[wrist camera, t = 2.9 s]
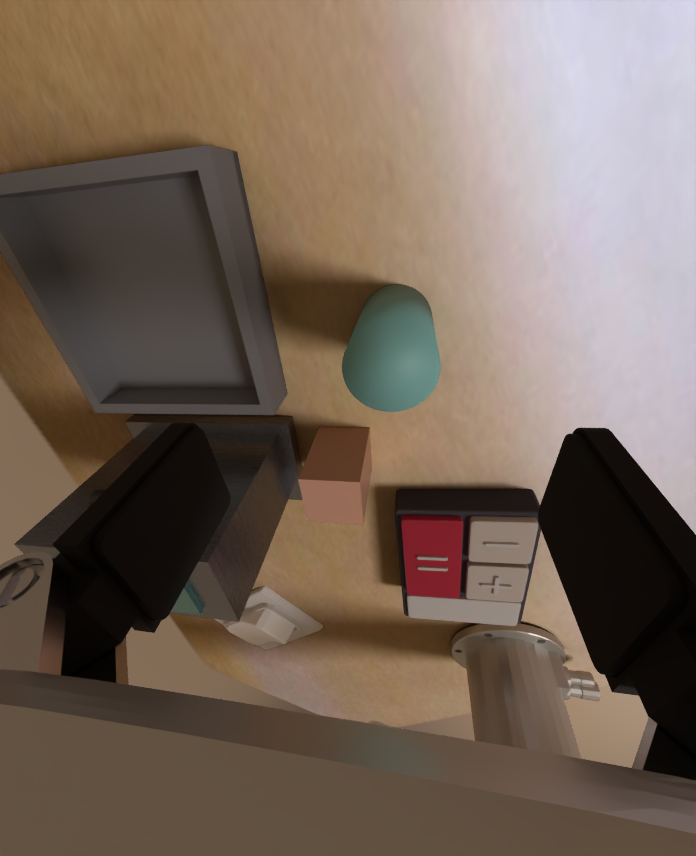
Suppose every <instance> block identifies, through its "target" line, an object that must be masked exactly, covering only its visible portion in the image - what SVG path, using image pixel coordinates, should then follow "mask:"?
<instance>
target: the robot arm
mask: <svg viewBox="0 0 696 856" xmlns="http://www.w3.org/2000/svg"><path fill="white" fill-rule="evenodd" d="M230 500H231V497H230V493H229V491H228V488H227V486H226V483H225V481H224V478H223V476H222V474H221V471H220V469H219V466H218V464H217V462H216V459H215V457H214V454H213V452H212V449H211V447H210V445H209V442H208V440H207V437H206V435H205V433H204V431H203V430H202V429H200V428H199V427H198V426H197V425H196V424H194V423H172V424H171V425H170V426H169V427H168V428H167V429H166V430H165V431H164V432H163V433H162V434H161V435H160V436H159V437H158V438H157V439H156V440H155V441H154V442H153V443H152V444H151V445H150V446H149V447H148V448H147V449H146V450H145V451H144V452H143V453H142V454H141V455H140V456H139V457H138V458H137V459H136V460H135V461H134V462H133V463H132V464H131V465H130V466H129V467H128V468H127V469H126V470H125V471H124V472H123V473H122V474H121V475H120V476H119V477H118V478H117V479H116V480H115V481H114V482H113V483H112V484H111V485H110V486H109V487H108V488H107V489H106V490H105V491H104V492H103V493H102V494H101V495H100V496H99V497H98V499H97V500H96V501H95V502H94V503H93V504H92V505H91V506H90V507H89V508H88V509H87V510H86V511H85V512H84V513H83V514H82V515H81V516H80V517H79V518H78V519H77V520H76V521H75V522H74V523H73V524H72V525H71V526H70V527H69V528H68V529H67V530H66V531H65V532H64V533H63V534H62V535H61V536H60V537H59V538H58V539H57V540H56V541H55V542H54V543H53V544H52V545H53V546H54V547H55V548H56V549H57V550H58V551H59V552H60V553H59V554H58V556H57V557H56V558H55V559H53V558H52V557H51V556H50V555H49V554H48V553H46V552H41V551H38V552H30V553H26V554H23V555H20V556H17V557H15V558H13V559H11V560H10V561H7V562H5V563H3V564H2V565H0V856H696V535H695V533H694V532H693V531H692V530H691V529H690V527H689V526H688V525H687V524H686V522H685V521H684V520H683V519H682V518H681V516H680V515H679V514H678V513H677V511H676V510H675V509H674V508H673V507H672V505H671V504H670V503H669V502H668V500H667V499H666V498H665V497H664V496H663V494H662V493H661V492H660V491H659V489H658V488H657V487H656V486H655V485H654V483H653V482H652V481H651V480H650V478H649V477H648V476H647V475H646V474H645V472H644V471H643V470H642V469H641V467H640V466H639V465H638V464H637V463H636V461H635V460H634V459H633V458H632V456H631V455H630V454H629V453H628V452H627V450H626V449H625V448H624V447H623V445H622V444H621V443H620V442H619V441H618V439H617V438H616V437H615V436H614V434H613V433H612V432H611V431H610V430H609V429H606V428H577V429H576V430H575V431H574V432H573V434H567V435H566V436H565V438H564V441H563V443H562V446H561V449H560V452H559V455H558V457H557V460H556V463H555V466H554V468H553V471H552V474H551V477H550V480H549V482H548V485H547V488H546V491H545V494H544V496H543V499H542V502H541V505H540V508H539V511H538V521H539V525H540V528H541V530H542V533H543V535H544V538H545V541H546V543H547V546H548V548H549V551H550V554H551V556H552V559H553V561H554V564H555V567H556V569H557V572H558V574H559V577H560V580H561V582H562V585H563V587H564V590H565V593H566V595H567V598H568V600H569V603H570V606H571V608H572V611H573V613H574V616H575V619H576V621H577V624H578V626H579V629H580V632H581V634H582V637H583V639H584V642H585V645H586V647H587V650H588V652H589V655H590V658H591V660H592V662H593V665H594V667H595V668H596V670H597V671H598V672H599V673H600V674H604V675H605V676H606V678H607V681H608V683H609V686H610V688H611V691H612V692H616V693H624V694H631V695H639V696H640V698H641V701H642V703H643V705H644V708H645V710H646V712H647V714H648V716H649V718H648V722H647V725H646V727H645V731H644V733H643V736H642V739H641V742H640V745H639V748H638V751H637V754H636V757H635V760H634V763H633V766H632V768H628V767H622V766H617V765H612V764H606V763H601V762H596V761H590V760H585V759H582V758H581V755H580V752H579V748H578V745H577V742H576V739H575V735H574V732H573V729H572V725H571V722H570V719H569V715H568V712H567V709H566V706H565V702H564V699H565V700H568V699H569V697H570V696H574V697H579V698H581V699H586V700H593V701H600V697H601V696H600V691H599V687H598V685H597V683H596V682H595V681H594V678H593V676H592V674H591V673H590V672H585V671H572V670H568V668H567V667H564V666H563V664H564V663H565V660H566V655H565V651H564V648H563V646H562V643H561V642H560V641H559V640H558V639H557V638H556V637H555V636H553V635H552V634H551V633H549V632H547V631H545V630H542V629H540V628H537V627H534V626H530V625H526V624H521V623H520V624H519V625H516V626H506V625H493V624H477V625H474V626H470V627H467V628H465V629H463V630H461V631H460V632H458V633H457V634H456V635H455V636H454V637H453V639H452V642H451V652H452V656H453V658H454V659H455V661H456V662H457V663H458V664H460V665H461V666H462V667H464V668H466V669H467V677H468V686H469V694H470V703H471V711H472V719H473V728H474V736H475V741H473V740H467V739H461V738H455V737H449V736H443V735H437V734H430V733H425V732H419V731H413V730H407V729H401V728H395V727H389V726H383V725H377V724H370V723H364V722H358V721H352V720H346V719H339V718H333V717H327V716H321V715H315V714H308V713H302V712H296V711H290V710H284V709H277V708H271V707H265V706H258V705H252V704H246V703H240V702H234V701H227V700H221V699H215V698H208V697H202V696H195V695H189V694H183V693H176V692H170V691H164V690H157V689H151V688H144V687H138V686H132V685H129V684H128V666H127V648H126V635H127V633H128V631H129V630H130V628H131V627H132V628H133V629H134V630H138V631H146V632H153V633H154V632H155V631H156V629H157V627H158V625H159V623H160V621H161V620H163V619H165V618H166V617H167V616H168V615H169V613H170V612H171V610H172V608H173V607H174V605H175V603H176V601H177V599H178V598H179V596H180V594H181V592H182V590H183V589H184V587H185V585H186V583H187V581H188V580H189V578H190V576H191V574H192V572H193V571H194V569H195V567H196V565H197V563H198V562H199V560H200V558H201V556H202V554H203V553H204V551H205V549H206V547H207V545H208V544H209V542H210V540H211V538H212V536H213V535H214V533H215V531H216V529H217V527H218V526H219V524H220V522H221V520H222V518H223V517H224V515H225V513H226V511H227V509H228V508H229V505H230Z"/></svg>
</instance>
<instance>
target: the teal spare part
mask: <svg viewBox="0 0 696 856" xmlns="http://www.w3.org/2000/svg"><path fill="white" fill-rule="evenodd" d="M342 372H343V377H344V380H345V383H346V385H347V387H348V389H349V390H350V392H351V393H352V394H353V396H354V397H355V398H356V399H358V400H359V401H360V402H361V403H363V404H365V405H366V406H368V407H371V408H373V409H376V410H380V411H387V412H396V411H403V410H406V409H409V408H412V407H414V406H416V405H418V404H419V403H421V402H422V401H424V400H425V399H426V398H427V397H428V396H429V395H430V394H431V392H432V391H433V390H434V388H435V386H436V384H437V382H438V379H439V375H440V358H439V352H438V346H437V341H436V335H435V329H434V324H433V318H432V312H431V308H430V306H429V303H428V302H427V300H426V298H425V297H424V296H423V295H422V294H421V293H420V292H419V291H417V290H416V289H414V288H412V287H409V286H406V285H389V286H386V287H383V288H381V289H379V290H377V291H376V292H375V293H373V294H372V295H371V296H370V297H369V299H368V300H367V301H366V303H365V305H364V307H363V310H362V312H361V314H360V317H359V319H358V322H357V324H356V326H355V329H354V331H353V334H352V336H351V338H350V341H349V343H348V346H347V348H346V351H345V353H344V356H343V362H342Z"/></svg>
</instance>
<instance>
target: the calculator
mask: <svg viewBox="0 0 696 856" xmlns="http://www.w3.org/2000/svg"><path fill="white" fill-rule="evenodd" d="M539 508H540V504H539V502H538V500H537V498H536V495H535V493H534V491H533V490H531V489H398V490H397V491H396V500H395V521H396V532H397V542H398V553H399V564H400V574H401V585H402V596H403V607H404V614H405V615H406V616H409V617H411V618H420V619H432V620H444V621H457V622H469V623H481V624H493V625H506V626H516V625H519V624H520V623H521V619H522V614H523V610H524V605H525V601H526V596H527V591H528V587H529V582H530V578H531V573H532V569H533V564H534V559H535V555H536V550H537V546H538V541H539V536H540V532H541V528H540V525H539V521H538V511H539Z"/></svg>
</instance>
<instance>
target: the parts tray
mask: <svg viewBox="0 0 696 856" xmlns="http://www.w3.org/2000/svg"><path fill="white" fill-rule="evenodd" d="M0 252H1V254H2V256H3V257H4V259H5V261H6V262H7V264H8V266H9V267H10V269H11V271H12V273H13V274H14V276H15V278H16V279H17V281H18V283H19V284H20V286H21V288H22V289H23V291H24V293H25V294H26V296H27V298H28V300H29V301H30V303H31V305H32V306H33V308H34V310H35V311H36V313H37V315H38V316H39V318H40V320H41V321H42V323H43V325H44V326H45V328H46V330H47V332H48V333H49V335H50V337H51V338H52V340H53V342H54V343H55V345H56V347H57V348H58V350H59V352H60V353H61V355H62V357H63V359H64V360H65V362H66V364H67V365H68V367H69V369H70V370H71V372H72V374H73V375H74V377H75V379H76V380H77V382H78V384H79V386H80V387H81V389H82V391H83V392H84V394H85V396H86V397H87V399H88V401H89V402H90V404H91V406H92V407H93V409H94V411H95V412H96V413H137V414H225V415H274V414H275V413H276V411H277V410H278V408H279V406H280V405H281V403H282V402H283V400H284V398H285V397H286V395H287V389H286V384H285V379H284V375H283V370H282V365H281V360H280V356H279V351H278V346H277V341H276V336H275V332H274V327H273V322H272V317H271V312H270V308H269V303H268V298H267V293H266V288H265V284H264V279H263V274H262V269H261V265H260V260H259V255H258V250H257V245H256V241H255V236H254V231H253V226H252V221H251V217H250V212H249V207H248V202H247V198H246V193H245V188H244V183H243V178H242V174H241V169H240V164H239V159H238V154H237V152H235V151H231V150H227V149H223V148H219V147H215V146H210V145H205V146H197V147H190V148H183V149H176V150H169V151H162V152H154V153H147V154H140V155H133V156H126V157H119V158H111V159H104V160H97V161H90V162H83V163H76V164H68V165H61V166H54V167H47V168H40V169H33V170H25V171H18V172H11V173H4V174H0Z"/></svg>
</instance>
